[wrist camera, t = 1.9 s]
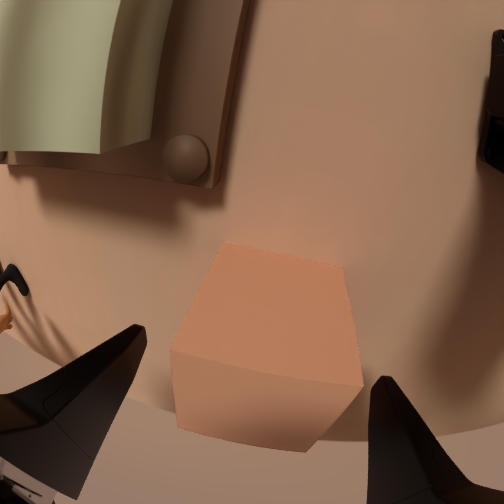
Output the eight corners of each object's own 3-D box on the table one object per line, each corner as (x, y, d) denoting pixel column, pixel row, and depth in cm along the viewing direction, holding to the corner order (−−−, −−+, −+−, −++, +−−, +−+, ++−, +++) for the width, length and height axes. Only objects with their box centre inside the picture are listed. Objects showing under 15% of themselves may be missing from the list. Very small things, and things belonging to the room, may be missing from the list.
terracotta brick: (341, 266, 11) (363, 386, 6) (309, 346, 14) (305, 452, 9) (224, 241, 12) (169, 348, 6) (214, 327, 14) (178, 427, 9)
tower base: (269, -77, 5) (255, -131, 1) (219, 181, 10) (179, 221, 7) (31, -19, 5) (-15, -25, 2) (5, 159, 11) (-43, 180, 8)
